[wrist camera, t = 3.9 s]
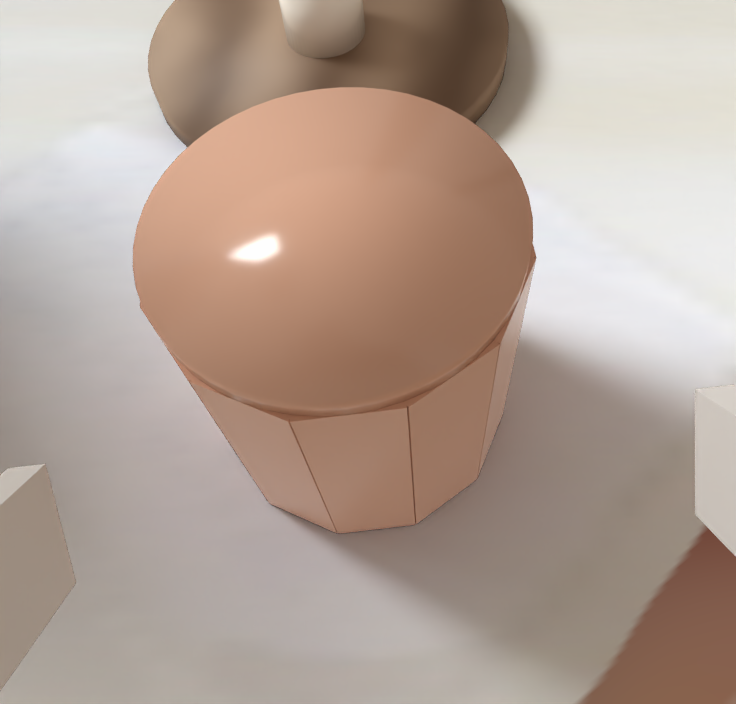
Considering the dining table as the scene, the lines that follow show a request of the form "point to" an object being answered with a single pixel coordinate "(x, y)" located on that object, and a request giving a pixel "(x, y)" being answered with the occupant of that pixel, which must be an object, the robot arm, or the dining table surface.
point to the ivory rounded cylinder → (323, 26)
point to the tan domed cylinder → (344, 296)
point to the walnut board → (300, 73)
